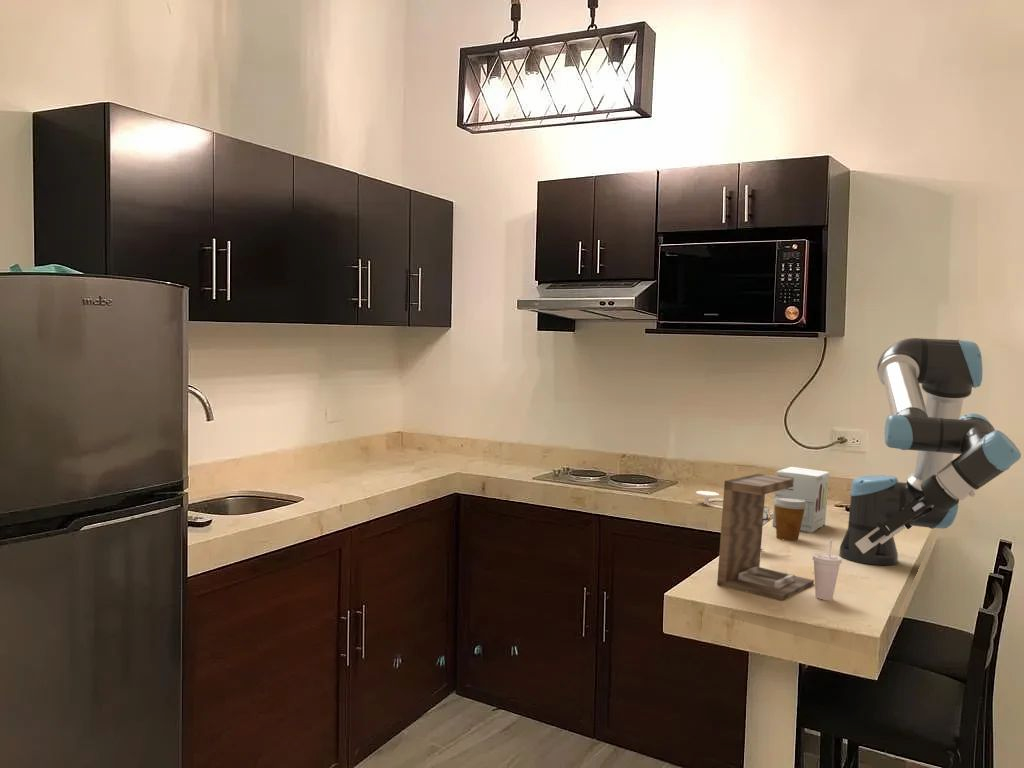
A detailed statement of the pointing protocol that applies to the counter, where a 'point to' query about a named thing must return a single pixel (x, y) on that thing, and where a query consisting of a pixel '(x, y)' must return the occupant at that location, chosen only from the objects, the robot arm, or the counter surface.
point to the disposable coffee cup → (788, 517)
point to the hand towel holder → (707, 500)
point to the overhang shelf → (751, 539)
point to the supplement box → (807, 494)
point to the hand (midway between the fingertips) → (868, 543)
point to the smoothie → (826, 573)
